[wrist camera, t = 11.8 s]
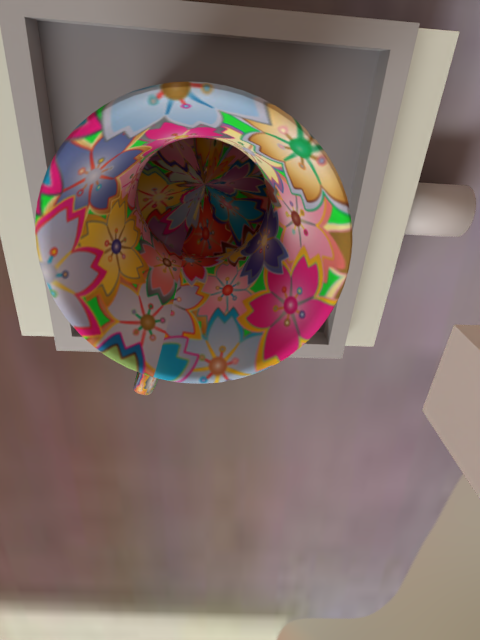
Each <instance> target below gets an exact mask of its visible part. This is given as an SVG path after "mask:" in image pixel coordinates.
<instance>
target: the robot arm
mask: <svg viewBox="0 0 480 640" xmlns="http://www.w3.org/2000/svg"><path fill="white" fill-rule="evenodd" d="M422 411H423V412H424V414H425V415H426V417H427V418H428V420H429V421H430V423H431V425H432V426H433V428H434V429H435V431H436V432H437V434H438V435H439V437H440V438H441V440H442V442H443V443H444V445H445V446H446V448H447V449H448V451H449V452H450V454H451V455H452V457H453V459H454V460H455V462H456V463H457V465H458V466H459V468H460V469H461V471H462V472H463V474H464V476H465V477H466V478H467V480H468V482H469V483H470V485H471V486H472V488H473V489H474V491H475V493H476V494H477V496H478V497H479V499H480V325H454V326H453V329H452V332H451V334H450V337H449V340H448V342H447V345H446V348H445V350H444V353H443V356H442V358H441V361H440V364H439V366H438V369H437V372H436V375H435V377H434V380H433V383H432V385H431V388H430V391H429V393H428V396H427V399H426V401H425V404H424V407H423V409H422Z"/></svg>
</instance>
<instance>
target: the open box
mask: <svg viewBox="0 0 480 640" xmlns="http://www.w3.org/2000/svg"><path fill="white" fill-rule="evenodd" d="M419 25H420V23H413V22H402V21H392V20H382V19H371V18H361V17H350V16H340V15H329V14H319V13H308V12H298V11H287V10H277V9H266V8H256V7H246V6H235V5H225V4H214V3H204V2H193V1H183V0H0V236H1V241H2V245H3V250H4V255H5V259H6V264H7V268H8V273H9V278H10V282H11V287H12V291H13V296H14V300H15V305H16V310H17V314H18V319H19V323H20V328H21V333H22V335H26V336H54V339H55V345H56V350H57V351H91V352H100V351H99V350H98V349H96V348H95V347H94V346H92V345H91V344H90V343H89V342H88V341H87V340H86V339H84V338H83V337H82V336H81V335H80V334H79V333H78V332H77V331H76V329H75V328H74V327H73V326H72V325H71V324H70V322H69V321H68V320H67V319H66V318H65V316H64V315H63V313H62V312H61V310H60V309H59V307H58V306H57V304H56V302H55V301H54V299H53V297H52V295H51V293H50V291H49V289H48V286H47V284H46V282H45V279H44V276H43V273H42V270H41V267H40V263H39V258H38V253H37V247H36V237H35V216H36V208H37V201H38V197H39V193H40V188H41V185H42V182H43V180H44V177H45V174H46V171H47V169H48V167H49V165H50V163H51V161H52V159H53V157H54V156H55V154H56V153H57V151H58V150H59V148H60V146H61V145H62V143H63V142H64V141H65V140H66V138H67V137H68V136H69V135H70V134H71V133H72V131H73V130H74V129H75V128H76V127H77V126H78V125H79V124H80V123H81V122H83V121H84V120H85V119H86V118H87V117H88V116H90V115H91V114H92V113H94V112H95V111H96V110H98V109H99V108H100V107H102V106H104V105H105V104H107V103H109V102H111V101H112V100H114V99H116V98H118V97H120V96H123V95H125V94H127V93H130V92H132V91H135V90H138V89H142V88H145V87H149V86H152V85H158V84H164V83H170V82H187V81H191V82H208V83H214V84H220V85H226V86H229V87H233V88H236V89H240V90H243V91H246V92H248V93H251V94H253V95H256V96H258V97H260V98H262V99H264V100H266V101H268V102H270V103H272V104H273V105H275V106H277V107H278V108H280V109H281V110H283V111H284V112H286V113H287V114H289V115H290V116H292V117H293V118H294V119H295V120H296V121H297V122H299V123H300V124H301V125H302V126H303V127H304V128H305V129H306V130H307V131H308V132H309V133H310V134H311V135H312V136H313V137H314V138H315V139H316V140H317V142H318V143H319V144H320V146H321V147H322V148H323V150H324V151H325V152H326V154H327V155H328V157H329V158H330V160H331V162H332V163H333V165H334V167H335V169H336V171H337V173H338V175H339V177H340V179H341V182H342V184H343V187H344V190H345V193H346V196H347V199H348V204H349V208H350V213H351V221H352V241H353V242H352V254H351V261H350V266H349V271H348V274H347V278H346V281H345V284H344V287H343V289H342V292H341V294H340V297H339V299H338V301H337V303H336V305H335V307H334V308H333V310H332V312H331V313H330V315H329V316H328V318H327V319H326V321H325V322H324V323H323V325H322V326H321V327H320V328H319V330H318V331H317V332H316V333H315V334H314V335H313V336H312V337H311V338H310V339H309V340H308V341H307V342H306V343H305V344H304V345H303V346H302V347H301V348H299V349H298V350H297V351H295V352H294V353H293V354H291V355H290V356H289V357H296V358H330V359H342V356H343V352H344V347H345V346H372V347H373V346H374V343H375V339H376V335H377V332H378V328H379V324H380V321H381V317H382V313H383V310H384V306H385V302H386V299H387V295H388V292H389V288H390V284H391V281H392V277H393V273H394V270H395V266H396V262H397V259H398V255H399V251H400V248H401V244H402V240H403V237H404V234H408V235H427V236H445V237H459V236H461V235H463V234H464V233H465V232H466V231H467V230H468V228H469V227H470V225H471V223H472V221H473V218H474V214H475V209H476V198H475V194H474V191H473V190H472V188H471V187H469V186H467V185H452V184H437V183H421V182H419V178H420V174H421V171H422V167H423V163H424V160H425V156H426V152H427V149H428V145H429V142H430V138H431V134H432V131H433V127H434V123H435V120H436V116H437V112H438V109H439V105H440V101H441V98H442V94H443V90H444V87H445V83H446V79H447V76H448V72H449V68H450V65H451V61H452V57H453V54H454V50H455V46H456V43H457V39H458V35H459V32H457V31H447V30H436V29H425V28H419Z"/></svg>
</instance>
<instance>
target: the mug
mask: <svg viewBox="0 0 480 640" xmlns="http://www.w3.org/2000/svg"><path fill="white" fill-rule="evenodd" d="M35 237H36V247H37V253H38V258H39V263H40V267H41V270H42V273H43V276H44V279H45V282H46V284H47V286H48V289H49V291H50V293H51V295H52V297H53V299H54V301H55V302H56V304H57V306H58V307H59V309H60V310H61V312H62V313H63V315H64V316H65V318H66V319H67V320H68V321H69V322H70V324H71V325H72V326H73V327H74V328H75V329H76V331H77V332H78V333H79V334H80V335H81V336H82V337H83V338H84V339H86V340H87V341H88V342H89V343H90V344H91V345H92V346H94V347H95V348H96V349H98V350H99V351H100V352H102V353H103V354H104V355H106V356H108V357H109V358H111V359H112V360H114V361H116V362H118V363H120V364H122V365H123V366H125V367H127V368H130V369H132V370H134V371H137V376H136V379H135V383H134V391H135V392H137V393H139V394H143V395H149V394H151V393H152V391H153V390H154V388H155V385H156V383H157V381H158V378H159V379H163V380H168V381H174V382H182V383H216V382H224V381H230V380H234V379H239V378H243V377H246V376H249V375H252V374H255V373H258V372H260V371H263V370H265V369H267V368H269V367H271V366H273V365H275V364H277V363H279V362H281V361H282V360H284V359H285V358H287V357H289V356H290V355H291V354H293V353H294V352H295V351H297V350H298V349H299V348H301V347H302V346H303V345H304V344H305V343H306V342H307V341H308V340H309V339H310V338H311V337H312V336H313V335H314V334H315V333H316V332H317V331H318V330H319V328H320V327H321V326H322V325H323V323H324V322H325V321H326V319H327V318H328V316H329V315H330V313H331V312H332V310H333V308H334V307H335V305H336V303H337V301H338V299H339V297H340V294H341V292H342V289H343V287H344V284H345V281H346V278H347V274H348V271H349V266H350V261H351V254H352V242H353V241H352V221H351V213H350V208H349V204H348V199H347V196H346V193H345V190H344V187H343V184H342V182H341V179H340V177H339V175H338V173H337V171H336V169H335V167H334V165H333V163H332V162H331V160H330V158H329V157H328V155H327V154H326V152H325V151H324V150H323V148H322V147H321V146H320V144H319V143H318V142H317V140H316V139H315V138H314V137H313V136H312V135H311V134H310V133H309V132H308V131H307V130H306V129H305V128H304V127H303V126H302V125H301V124H300V123H299V122H297V121H296V120H295V119H294V118H293V117H292V116H290V115H289V114H287V113H286V112H284V111H283V110H281V109H280V108H278V107H277V106H275V105H273V104H272V103H270V102H268V101H266V100H264V99H262V98H260V97H258V96H256V95H253V94H251V93H248V92H246V91H243V90H240V89H236V88H233V87H229V86H226V85H220V84H214V83H208V82H191V81H187V82H170V83H164V84H158V85H152V86H149V87H145V88H142V89H138V90H135V91H132V92H130V93H127V94H125V95H123V96H120V97H118V98H116V99H114V100H112V101H111V102H109V103H107V104H105V105H104V106H102V107H100V108H99V109H98V110H96V111H95V112H94V113H92V114H91V115H90V116H88V117H87V118H86V119H85V120H84V121H83V122H81V123H80V124H79V125H78V126H77V127H76V128H75V129H74V130H73V131H72V133H71V134H70V135H69V136H68V137H67V138H66V140H65V141H64V142H63V143H62V145H61V146H60V148H59V150H58V151H57V153H56V154H55V156H54V157H53V159H52V161H51V163H50V165H49V167H48V169H47V171H46V174H45V177H44V180H43V182H42V185H41V188H40V193H39V197H38V201H37V208H36V216H35Z"/></svg>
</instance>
